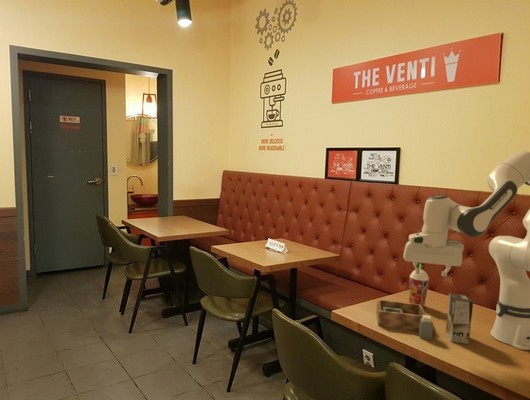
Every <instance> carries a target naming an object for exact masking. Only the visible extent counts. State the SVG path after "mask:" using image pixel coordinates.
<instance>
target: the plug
mask: <svg viewBox="0 0 530 400" xmlns="http://www.w3.org/2000/svg"><path fill="white" fill-rule="evenodd" d="M433 327H434V323H433V320H432V317H431V315H428V314H427V315H422V318H420V325H419V331H418V336H419V339H422V340H430V341H431V340H432V339H433V329H434V328H433Z"/></svg>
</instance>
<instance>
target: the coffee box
mask: <svg viewBox="0 0 530 400" xmlns="http://www.w3.org/2000/svg"><path fill="white" fill-rule="evenodd" d="M473 307H474V301H473V300H472V299H471V298H470V297H469V296H468V295H467V294H466V293H465V294H464V293H451V292H449V293H448V302H447V313H446V326H445V333H446V335H447V337H448V338H449V340H450V341H451V342H453V343H459V344H466V345H469V343H470V335H471V325H472V316H473Z"/></svg>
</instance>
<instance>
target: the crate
mask: <svg viewBox="0 0 530 400" xmlns="http://www.w3.org/2000/svg"><path fill="white" fill-rule="evenodd" d="M375 313H376V319H377V326H379V327H387V328H394V329H395V328H396V329H402V330H410V331H411V330H412V331H417V332H419V325H420V318H422V315H426V312H425V310H424V307H422V306H421V304H413V303H410V302H403V301H393V300H383V299H376V311H375Z"/></svg>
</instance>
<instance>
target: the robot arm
mask: <svg viewBox="0 0 530 400" xmlns="http://www.w3.org/2000/svg"><path fill="white" fill-rule="evenodd" d="M486 181H487V186H488V188H489V189H490V190H491V192H492V193H491V194H490V195H489V196H488V198H486V200H485V201H484V202H483V203H481V204H480V205H479V206H474V207H470V206H464V205H461V204H459V203H457V202H455V201H453V200H452V199H451V198H450V197H449V196H448V195H445V194H444V195H441V194H440V195H437V194H436V195H432V196H429V197H428V198H427V199H426V201H425V203H424V209H423V216H422V221H423V226H422V228H421V232H417V233H411V234H409V235H408V241H407V242H406V243H405V247H404V249H403V259H404V260H405V262H411V263H412V265H413V267H414V270H415V274H420V269H419V267H417V266H418V264H432V265H438V266H439V265H441V266H445V267H446V268H445V269H444V270H442V271H441V277H444V278H447V276H448V273H449V272H450V271H451V268H452V267H461V266H462V264H463V252H464V249H465V247H464V246H465V245H464V244H463V242H461V241H459V240H452V239H451V240H450V239H448V232H449V230H452V231H455V232H458V233H461V234H463V235H466V236H468V237H470V238H471V237H472V238H477V237H480V236H483V235H484V234H485V233H486V232H487V231H488V229H489V228H490V226H491V225H492V223H493V222H494V220H495V219H496V218H497V216H499V214H501V212H502V211H503V210H505V208H506V207H507V206H508V205H510V203H511V202H512V201H513V200H514V198H515V197H516V196H517V194H518V190H519V189H520V188H521V187H522V186H523V185H526V186H529V187H530V151H528V150H527V151H526V150H521V151H518V152H515V153H514V154H511V156H508V157H507V158H505V159H504V160H503V161H501V162H500V163H499V164H497V165H496V166H495V167H494V168H493V169H492V170H491V171H490V172H489V173H488V175H487V177H486ZM522 225H523V226H524V227H523V228H525V230H526V235H525V237H524V238H520V237H516V236H511V235H498V236H495V237H494V238H492V239H491V240H490V242H489V244H488V252H489V254H490V256H491V258H492V259H493V260H494V262H495V264H496V267H497V269H498V273H499V279H500V281H499V282H500V284H499V297H498V299H497V304H496V309H495V310H496V311H495V312H496V317H495V321H494V323H493V326H492V329H491V331H490V336H491V337H492V338H494V339H495V340H497V341H499V342H502V343H504V344H507V345H509V346H512V347H514V348H516V349H519V350H524V351H525V350H526V351H528V350H529V351H530V278H529V276H528V274H527V272H530V208H529V209H528V210H527V212H526V214H525V216H524V217H523V218H522Z"/></svg>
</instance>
